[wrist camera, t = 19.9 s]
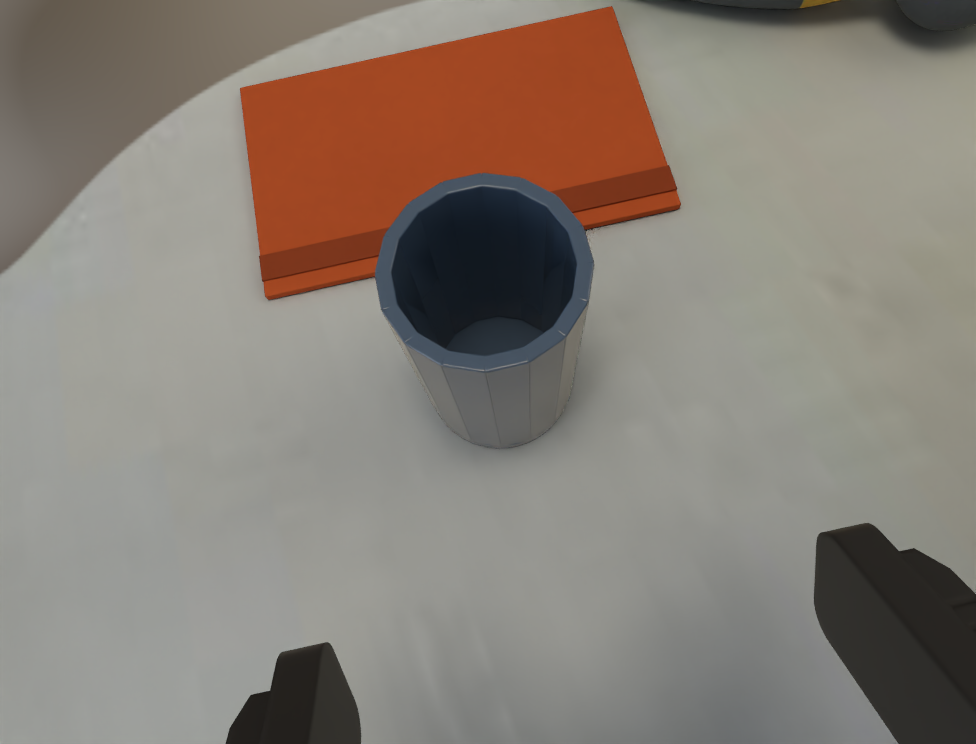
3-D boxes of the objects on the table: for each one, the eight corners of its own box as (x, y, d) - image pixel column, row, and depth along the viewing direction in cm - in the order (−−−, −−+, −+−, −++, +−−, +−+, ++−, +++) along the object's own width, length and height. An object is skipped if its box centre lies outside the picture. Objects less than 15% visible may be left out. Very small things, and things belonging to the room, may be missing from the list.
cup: (552, 299, 28) (562, 153, 19) (587, 430, 27) (618, 342, 17) (418, 330, 28) (360, 198, 19) (444, 463, 27) (396, 393, 17)
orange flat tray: (611, 12, 33) (612, 3, 32) (679, 209, 29) (682, 202, 29) (242, 93, 33) (238, 85, 32) (268, 300, 29) (263, 295, 29)
